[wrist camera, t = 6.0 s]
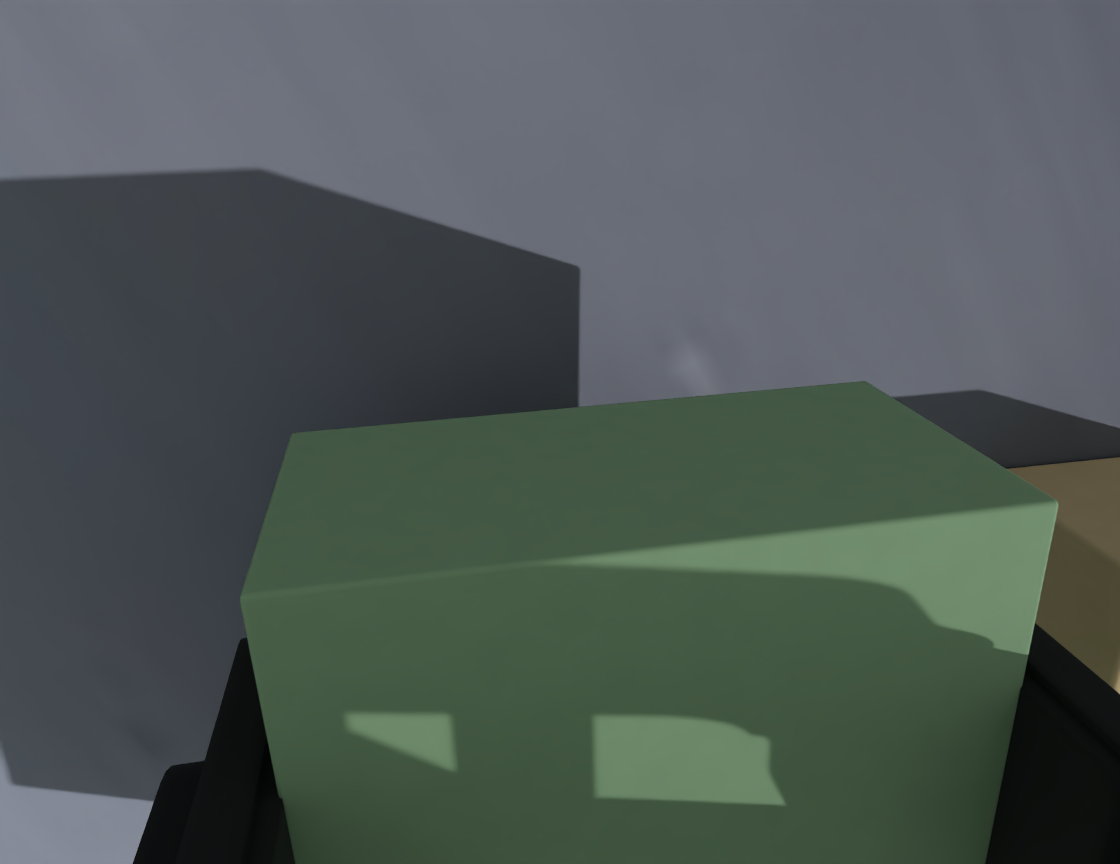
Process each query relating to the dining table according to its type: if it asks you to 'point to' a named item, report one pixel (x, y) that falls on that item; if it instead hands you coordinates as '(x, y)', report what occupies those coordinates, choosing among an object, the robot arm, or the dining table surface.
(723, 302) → the dining table surface
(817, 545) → the green pad
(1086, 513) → the tan flat block
